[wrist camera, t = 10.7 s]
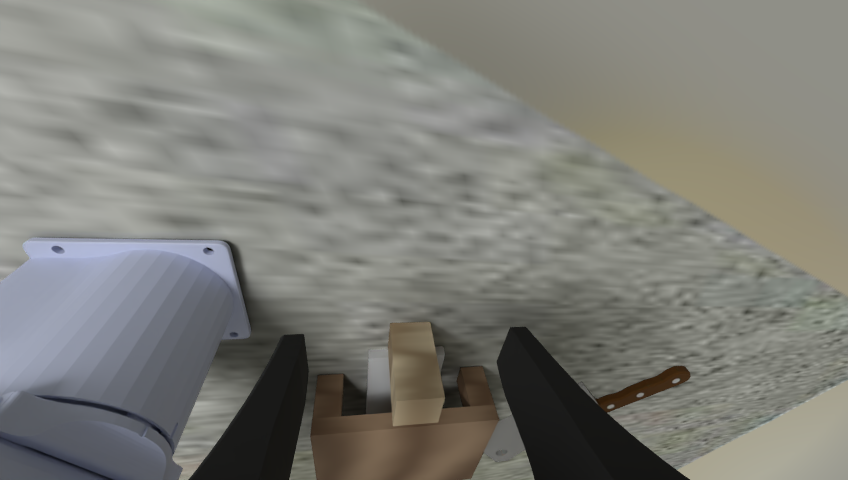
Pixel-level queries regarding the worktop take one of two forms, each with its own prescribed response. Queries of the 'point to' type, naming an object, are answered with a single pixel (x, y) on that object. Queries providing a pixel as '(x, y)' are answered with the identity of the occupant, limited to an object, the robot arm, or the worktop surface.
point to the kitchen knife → (506, 432)
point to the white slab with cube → (407, 376)
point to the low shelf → (402, 436)
